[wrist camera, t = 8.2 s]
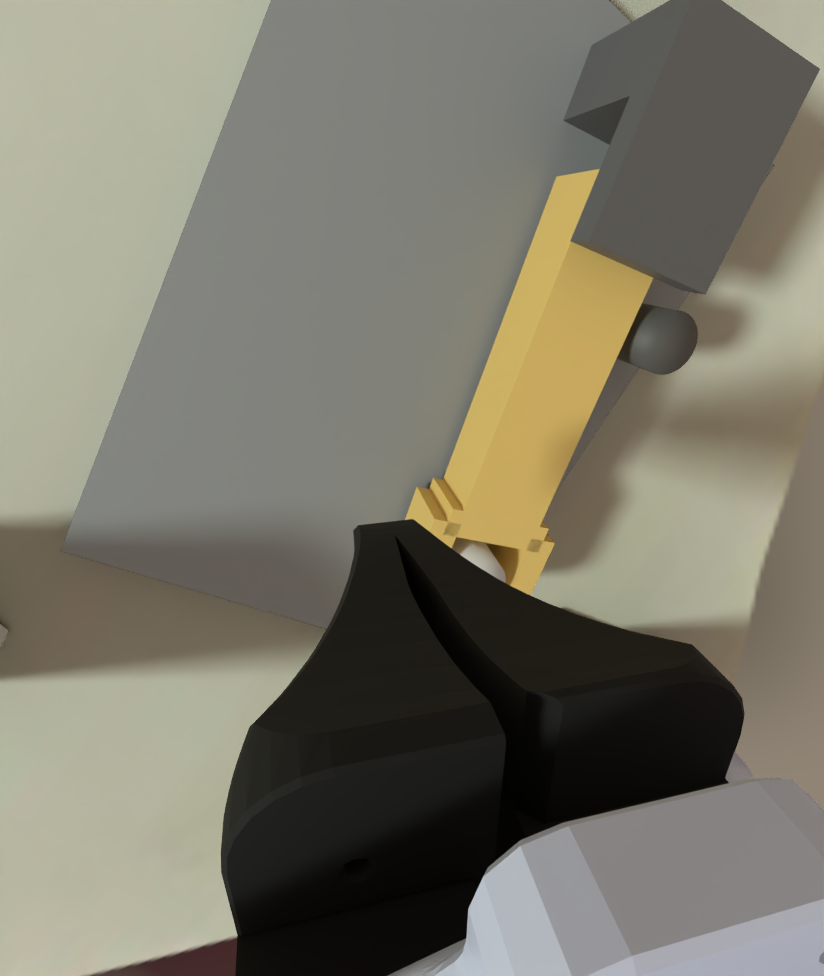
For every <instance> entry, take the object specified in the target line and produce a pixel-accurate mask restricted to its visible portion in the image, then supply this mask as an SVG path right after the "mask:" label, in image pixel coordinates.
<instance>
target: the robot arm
mask: <svg viewBox="0 0 824 976" xmlns="http://www.w3.org/2000/svg"><path fill="white" fill-rule="evenodd" d="M353 536H354V557H353V561H352V565H351V570H350V574H349V577H348V580H347V583H346V586H345V589H344V592H343V595H342V597H341V600H340V603H339V605H338V607H337V610H336V612H335V614H334V616H333V618H332V620H331V622H330V624H329V626H328V628H327V630H326V632H325V633H324V635H323V637H322V638H321V640H320V642H319V643H318V645H317V647H316V649H315V650H314V652H313V653H312V655H311V656H310V658H309V659H308V661H307V662H306V663H305V665H304V666H303V667H302V669H301V670H300V671H299V672H298V674H297V675H296V676H295V678H294V679H293V680H292V682H291V683H290V684H289V685H288V687H287V688H286V689H285V690H284V692H283V693H282V694H281V695H280V696H279V697H278V698H277V699H276V700H275V701H274V702H273V704H272V705H271V706H270V707H269V708H268V709H267V710H266V711H265V712H264V713H263V714H262V715H261V716H260V717H259V718H258V719H257V720H256V721H255V722H254V723H253V724H252V725H251V726H250V728H249V730H248V733H247V735H246V738H245V741H244V744H243V746H242V749H241V752H240V755H239V758H238V761H237V764H236V767H235V770H234V774H233V777H232V781H231V785H230V789H229V793H228V798H227V803H226V807H225V813H224V821H223V833H222V845H221V873H222V877H223V880H224V884H225V888H226V892H227V896H228V900H229V904H230V907H231V911H232V915H233V919H234V923H235V927H236V931H237V934H238V938H237V957H236V976H824V810H823V808H822V807H821V806H820V805H819V804H818V803H817V802H816V801H815V800H814V799H813V798H812V797H811V796H810V795H809V794H808V793H807V792H806V791H805V790H803V789H802V788H801V787H800V786H799V785H798V784H796V783H795V782H794V781H793V780H789V779H783V778H763V779H762V778H761V779H754V777H753V775H752V773H751V771H750V770H749V768H748V767H747V765H746V764H745V763H744V761H743V760H742V759H741V758H740V757H739V756H738V754H737V753H736V752H735V749H736V746H737V743H738V740H739V738H740V735H741V730H742V724H743V719H744V709H743V703H742V698H741V696H740V695H739V693H738V692H737V690H736V689H735V687H734V686H733V685H732V684H731V683H730V682H729V681H728V680H727V679H726V678H725V677H724V676H723V675H722V674H721V673H720V672H719V671H718V670H717V669H716V668H715V667H714V666H713V665H712V664H711V663H710V662H709V661H708V660H707V659H706V658H705V657H704V656H703V655H702V654H701V653H700V652H699V651H698V650H697V649H696V648H695V647H694V646H693V645H692V644H687V643H682V642H678V641H673V640H668V639H664V638H659V637H654V636H650V635H645V634H640V633H636V632H632V631H628V630H625V629H621V628H618V627H614V626H611V625H607V624H604V623H600V622H597V621H594V620H591V619H588V618H585V617H582V616H579V615H576V614H574V613H571V612H568V611H566V610H563V609H561V608H558V607H556V606H553V605H550V604H548V603H546V602H543V601H541V600H539V599H536V598H534V597H532V596H530V595H528V594H526V593H524V592H522V591H520V590H518V589H516V588H514V587H512V586H510V585H508V584H506V583H504V582H503V581H501V580H499V579H497V578H496V577H494V576H492V575H491V574H489V573H487V572H486V571H484V570H483V569H481V568H479V567H478V566H476V565H475V564H473V563H472V562H470V561H469V560H467V559H466V558H464V557H463V556H461V555H460V554H458V553H457V552H456V551H454V550H453V549H452V548H450V547H449V546H448V545H446V544H445V543H443V542H442V541H441V540H440V539H438V538H437V537H436V536H434V535H433V534H432V533H431V532H429V531H428V530H427V529H425V528H424V527H423V526H422V525H420V524H419V523H418V522H416V521H415V520H414V519H408V520H399V521H391V522H382V523H373V524H364V525H358V526H357V527H356V528H355V529H354V530H353Z"/></svg>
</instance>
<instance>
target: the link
mask: <svg viewBox="0 0 824 976" xmlns="http://www.w3.org/2000/svg"><path fill="white" fill-rule="evenodd" d="M599 170H600V169H596V170H591V171H585V172H579V173H574V174H568V175H563V176H557V177H556V179H555V182H554V184H553V187H552V190H551V192H550V195H549V198H548V200H547V203H546V206H545V208H544V211H543V214H542V216H541V219H540V222H539V224H538V227H537V230H536V232H535V235H534V238H533V240H532V243H531V246H530V248H529V251H528V254H527V256H526V259H525V262H524V265H523V267H522V270H521V273H520V275H519V278H518V281H517V283H516V286H515V289H514V291H513V294H512V297H511V299H510V302H509V305H508V307H507V310H506V313H505V315H504V318H503V321H502V323H501V326H500V329H499V331H498V334H497V337H496V339H495V342H494V345H493V347H492V350H491V353H490V355H489V358H488V361H487V363H486V366H485V369H484V371H483V374H482V377H481V379H480V382H479V385H478V387H477V390H476V393H475V395H474V398H473V401H472V403H471V406H470V409H469V411H468V414H467V417H466V419H465V422H464V425H463V427H462V430H461V433H460V435H459V438H458V441H457V443H456V446H455V449H454V451H453V454H452V457H451V459H450V462H449V465H448V467H447V470H446V473H445V475H444V478H443V480H442V479H438V478H434V477H433V480H432V482H431V485H430V488H429V489H426V488H421V487H416V490H415V493H414V496H413V499H412V501H411V504H410V507H409V510H408V513H407V515H406V518H405V520H408V519H414V520H415V521H416V522H418V523H419V524H420V525H422V526H423V527H424V528H425V529H427V530H428V531H429V532H431V533H432V534H433V535H434V536H436V537H437V538H438V539H440V540H441V541H442V542H443V543H445V544H446V545H448V546H449V547H450V548H452V546H453V544H454V541H455V539H456V537H459V538H464V539H469V540H475V541H480V542H485V543H489V544H488V548H489V549H490V551H491V552H492V554H493V555H494V557H495V558H496V560H497V561H498V563H499V564H500V566H501V567H502V569H503V570H504V572H505V577H506V580H505V583H506V584H508V585H510V586H512V587H514V588H516V589H518V590H520V591H522V592H524V593H526V594H528V595H531V593H532V591H533V589H534V587H535V584H536V582H537V580H538V578H539V576H540V574H541V572H542V570H543V568H544V566H545V563H546V561H547V559H548V557H549V555H550V553H551V551H552V549H553V547H554V544H555V543H554V541H553V540H552V539H551V538H550V537H549V536H548V535H547V532H548V530H549V528H548V527H547V526H546V525H545V524H544V523H543V522H542V520H543V518H544V516H545V514H546V512H547V509H548V507H549V505H550V503H551V501H552V498H553V496H554V494H555V492H556V490H557V488H558V485H559V483H560V481H561V479H562V477H563V474H564V472H565V470H566V468H567V466H568V464H569V461H570V459H571V457H572V455H573V453H574V450H575V448H576V446H577V444H578V442H579V439H580V437H581V435H582V433H583V431H584V429H585V426H586V424H587V422H588V420H589V418H590V415H591V413H592V411H593V409H594V407H595V405H596V402H597V400H598V398H599V396H600V394H601V391H602V389H603V387H604V385H605V383H606V380H607V378H608V376H609V374H610V372H611V370H612V367H613V365H614V363H615V361H616V359H617V356H618V354H619V352H620V350H621V348H622V346H623V343H624V341H625V339H626V337H627V335H628V332H629V330H630V328H631V326H632V324H633V321H634V319H635V317H636V315H637V313H638V311H639V308H640V306H641V304H642V302H643V300H644V297H645V295H646V293H647V291H648V289H649V287H650V284H651V282H652V280H653V277H650V276H648V275H646V274H643V273H641V272H639V271H637V270H634V269H632V268H630V267H628V266H625V265H623V264H621V263H619V262H616V261H614V260H612V259H610V258H607V257H605V256H603V255H601V254H598V253H596V252H594V251H591V250H589V249H587V248H585V247H582V246H580V245H578V244H576V243H573V242H571V241H570V240H571V238H572V236H573V233H574V231H575V228H576V226H577V223H578V221H579V219H580V216H581V214H582V211H583V209H584V206H585V204H586V202H587V199H588V197H589V194H590V192H591V189H592V187H593V185H594V182H595V180H596V177H597V175H598V172H599Z"/></svg>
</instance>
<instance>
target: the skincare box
mask: <svg viewBox="0 0 824 976" xmlns="http://www.w3.org/2000/svg"><path fill="white" fill-rule="evenodd" d="M7 635H8V630H7V629H6V628H5V627H4V626H2V625H1V624H0V647H1V646H2V644H3V642H4V641H5V639H6V637H7Z"/></svg>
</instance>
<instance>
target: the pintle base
mask: <svg viewBox="0 0 824 976" xmlns="http://www.w3.org/2000/svg"><path fill="white" fill-rule="evenodd" d="M819 70H820V69H819V68H818V67H816V66H815V65H813V64H812V63H811V62H809V61H808V60H806V59H805V58H803V57H802V56H800V55H799V54H798V53H796V52H795V51H793V50H792V49H790V48H789V47H788V46H786V45H785V44H783V43H782V42H780V41H779V40H778V39H776V38H775V37H773V36H772V35H770V34H769V33H767V32H766V31H765V30H763V29H762V28H760V27H759V26H757V25H756V24H755V23H753V22H752V21H750V20H749V19H747V18H746V17H745V16H743V15H742V14H740V13H739V12H737V11H736V10H734V9H733V8H732V7H730V6H729V5H727V4H726V3H724V2H723V1H722V0H669V1H668V2H666V3H664V4H663V5H661V6H659V7H658V8H656V9H654V10H652V11H651V12H649V13H647V14H645V15H644V16H642V17H640V18H638V19H637V20H635V21H633V22H630V21H629V20H628V19H627V18H626V17H625V16H624V15H623V14H622V13H621V12H620V11H619V10H618V9H617V8H616V7H615V6H614V5H613V4H612V3H611V2H610V1H609V0H271V2H270V4H269V7H268V10H267V12H266V15H265V18H264V20H263V23H262V25H261V28H260V31H259V33H258V36H257V38H256V41H255V44H254V46H253V49H252V52H251V54H250V57H249V59H248V62H247V65H246V67H245V70H244V72H243V75H242V78H241V80H240V83H239V85H238V88H237V91H236V93H235V96H234V99H233V101H232V104H231V106H230V109H229V112H228V114H227V117H226V119H225V122H224V125H223V127H222V130H221V132H220V135H219V138H218V140H217V143H216V146H215V148H214V151H213V153H212V156H211V159H210V161H209V164H208V166H207V169H206V172H205V174H204V177H203V180H202V182H201V185H200V187H199V190H198V193H197V195H196V198H195V200H194V203H193V206H192V208H191V211H190V213H189V216H188V219H187V221H186V224H185V227H184V229H183V232H182V234H181V237H180V240H179V242H178V245H177V247H176V250H175V253H174V255H173V258H172V261H171V263H170V266H169V268H168V271H167V274H166V276H165V279H164V281H163V284H162V287H161V289H160V292H159V294H158V297H157V300H156V302H155V305H154V308H153V310H152V313H151V315H150V318H149V321H148V323H147V326H146V328H145V331H144V334H143V336H142V339H141V341H140V344H139V347H138V349H137V352H136V355H135V357H134V360H133V362H132V365H131V368H130V370H129V373H128V375H127V378H126V381H125V383H124V386H123V389H122V391H121V394H120V396H119V399H118V402H117V404H116V407H115V409H114V412H113V415H112V417H111V420H110V422H109V425H108V428H107V430H106V433H105V436H104V438H103V441H102V443H101V446H100V449H99V451H98V454H97V456H96V459H95V462H94V464H93V467H92V469H91V472H90V475H89V477H88V480H87V483H86V485H85V488H84V490H83V493H82V496H81V498H80V501H79V503H78V506H77V509H76V511H75V514H74V517H73V519H72V522H71V524H70V527H69V530H68V532H67V535H66V537H65V540H64V543H63V545H62V548H61V550H60V551H62V552H65V553H68V554H72V555H75V556H79V557H82V558H85V559H89V560H92V561H96V562H99V563H103V564H106V565H109V566H113V567H116V568H120V569H123V570H127V571H130V572H133V573H137V574H140V575H144V576H147V577H150V578H154V579H157V580H161V581H164V582H168V583H171V584H174V585H178V586H181V587H185V588H188V589H191V590H195V591H198V592H202V593H205V594H209V595H212V596H215V597H219V598H222V599H226V600H229V601H233V602H236V603H239V604H243V605H246V606H250V607H253V608H256V609H260V610H263V611H267V612H270V613H274V614H277V615H280V616H284V617H287V618H291V619H294V620H298V621H301V622H304V623H308V624H311V625H315V626H318V627H321V628H325V629H327V628H328V626H329V624H330V622H331V620H332V618H333V616H334V614H335V612H336V610H337V607H338V605H339V603H340V600H341V597H342V595H343V592H344V589H345V586H346V583H347V580H348V577H349V574H350V570H351V565H352V561H353V557H354V536H353V530H354V529H355V528H356V527H357V526H358V525H364V524H373V523H382V522H391V521H399V520H405V518H406V515H407V513H408V510H409V507H410V504H411V501H412V499H413V496H414V493H415V490H416V487H421V488H426V489H429V488H430V485H431V482H432V480H433V477H434V478H438V479H442V480H443V478H444V475H445V473H446V470H447V467H448V465H449V462H450V459H451V457H452V454H453V451H454V449H455V446H456V443H457V441H458V438H459V435H460V433H461V430H462V427H463V425H464V422H465V419H466V417H467V414H468V411H469V409H470V406H471V403H472V401H473V398H474V395H475V393H476V390H477V387H478V385H479V382H480V379H481V377H482V374H483V371H484V369H485V366H486V363H487V361H488V358H489V355H490V353H491V350H492V347H493V345H494V342H495V339H496V337H497V334H498V331H499V329H500V326H501V323H502V321H503V318H504V315H505V313H506V310H507V307H508V305H509V302H510V299H511V297H512V294H513V291H514V289H515V286H516V283H517V281H518V278H519V275H520V273H521V270H522V267H523V265H524V262H525V259H526V256H527V254H528V251H529V248H530V246H531V243H532V240H533V238H534V235H535V232H536V230H537V227H538V224H539V222H540V219H541V216H542V214H543V211H544V208H545V206H546V203H547V200H548V198H549V195H550V192H551V190H552V187H553V184H554V182H555V179H556V177H557V176H563V175H568V174H574V173H579V172H585V171H591V170H596V169H600V170H599V172H598V175H597V177H596V180H595V182H594V185H593V187H592V189H591V192H590V194H589V197H588V199H587V202H586V204H585V206H584V209H583V211H582V214H581V216H580V219H579V221H578V223H577V226H576V228H575V231H574V233H573V236H572V238H571V240H570V241H571V242H573V243H576V244H578V245H580V246H582V247H585V248H587V249H589V250H591V251H594V252H596V253H598V254H601V255H603V256H605V257H607V258H610V259H612V260H614V261H616V262H619V263H621V264H623V265H625V266H628V267H630V268H632V269H634V270H637V271H639V272H641V273H643V274H646V275H648V276H650V277H653V280H652V282H651V284H650V287H649V289H648V291H647V293H646V295H645V297H644V300H643V302H642V304H641V306H640V308H639V311H638V313H637V315H636V317H635V319H634V321H633V324H632V326H631V328H630V330H629V332H628V335H627V337H626V339H625V341H624V343H623V346H622V348H621V350H620V352H619V354H618V356H617V359H616V361H615V363H614V365H613V367H612V370H611V372H610V374H609V376H608V378H607V380H606V383H605V385H604V387H603V389H602V391H601V394H600V396H599V398H598V400H597V402H596V405H595V407H594V409H593V411H592V413H591V415H590V418H589V420H588V422H587V424H586V426H585V429H584V431H583V433H582V435H581V437H580V439H579V442H578V444H577V446H576V448H575V450H574V453H573V455H572V457H571V459H570V461H569V464H568V466H567V468H566V470H565V472H564V474H563V477H562V479H561V481H560V483H559V485H558V488H559V486H560V485H561V483H562V482H563V480H564V479H565V477H566V476H567V474H568V473H569V471H570V470H571V469H572V467H573V466H574V464H575V463H576V461H577V460H578V458H579V457H580V455H581V454H582V452H583V451H584V449H585V448H586V446H587V445H588V443H589V442H590V440H591V439H592V437H593V436H594V434H595V433H596V431H597V430H598V428H599V427H600V425H601V424H602V422H603V421H604V419H605V418H606V416H607V415H608V413H609V412H610V410H611V409H612V407H613V406H614V404H615V403H616V401H617V400H618V398H619V397H620V395H621V394H622V392H623V391H624V389H625V388H626V386H627V385H628V383H629V382H630V380H631V379H632V377H633V376H634V374H635V373H636V371H637V370H638V368H642V369H645V370H647V371H650V372H652V373H655V374H661V375H663V374H669V373H672V372H674V371H676V370H678V369H679V368H681V367H682V366H683V365H684V364H685V363H686V362H687V361H688V359H689V358H690V357H691V355H692V353H693V351H694V349H695V346H696V343H697V335H698V333H697V326H696V323H695V321H694V320H693V318H692V317H691V316H690V315H689V314H687V313H685V312H682V311H678V309H679V307H680V306H681V304H682V303H683V301H684V300H685V298H686V297H687V295H688V294H689V292H695V293H701V294H706V292H707V290H708V288H709V286H710V284H711V282H712V280H713V278H714V276H715V274H716V272H717V270H718V268H719V266H720V264H721V263H722V261H723V259H724V257H725V255H726V253H727V251H728V249H729V247H730V245H731V243H732V241H733V239H734V237H735V235H736V233H737V231H738V229H739V227H740V225H741V223H742V221H743V219H744V217H745V215H746V213H747V211H748V209H749V207H750V206H751V204H752V202H753V200H754V198H755V196H756V194H757V192H758V190H759V188H760V186H761V185H762V183H763V182H764V180H765V179H766V177H767V176H768V174H769V173H770V171H771V170H772V168H773V167H774V164H773V163H772V162H773V160H774V158H775V156H776V154H777V152H778V150H779V148H780V147H781V145H782V143H783V141H784V139H785V137H786V135H787V133H788V131H789V129H790V127H791V125H792V123H793V121H794V119H795V117H796V115H797V113H798V111H799V109H800V107H801V105H802V103H803V101H804V99H805V97H806V95H807V93H808V91H809V90H810V88H811V86H812V84H813V82H814V80H815V78H816V76H817V74H818V72H819ZM558 488H557V489H558ZM556 491H557V490H556ZM488 544H489V543H485V542H480V541H475V540H469V539H464V538H459V537H456V539H455V541H454V544H453V546H452V549H453V550H454V551H456V552H457V553H458V554H460V555H461V556H463V557H464V558H466V559H467V560H469V561H470V562H472V563H473V564H475V565H476V566H478V567H479V568H481V569H483V570H484V571H486V572H487V573H489V574H491V575H492V576H494V577H496V578H497V579H499V580H501V581H503V582H504V583H505V580H506V577H505V572H504V570H503V569H502V567H501V566H500V564H499V563H498V561H497V560H496V558H495V557H494V555H493V554H492V552H491V551H490V549H489V548H488Z"/></svg>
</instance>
